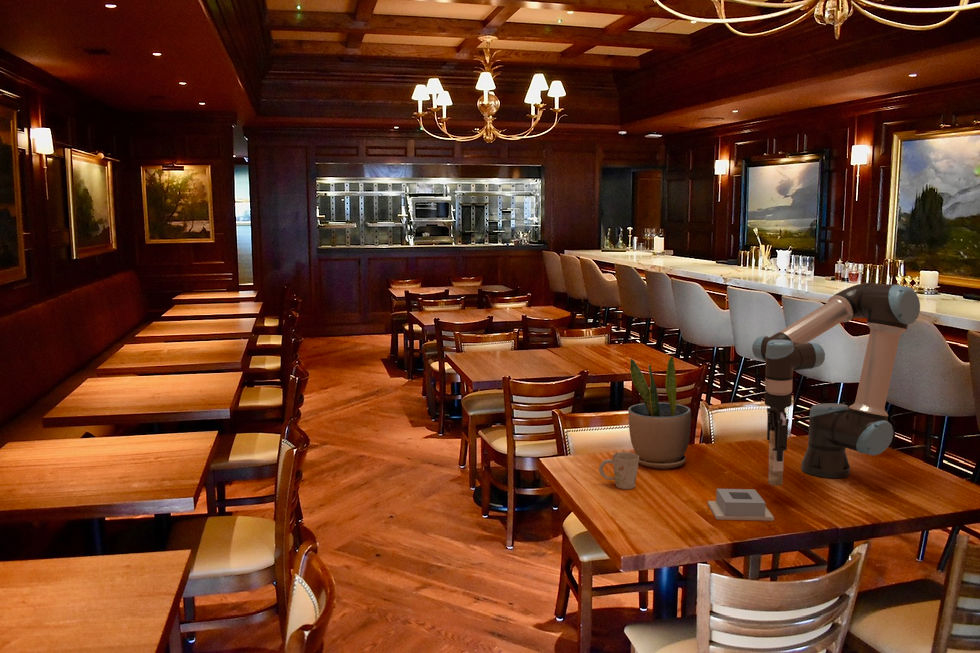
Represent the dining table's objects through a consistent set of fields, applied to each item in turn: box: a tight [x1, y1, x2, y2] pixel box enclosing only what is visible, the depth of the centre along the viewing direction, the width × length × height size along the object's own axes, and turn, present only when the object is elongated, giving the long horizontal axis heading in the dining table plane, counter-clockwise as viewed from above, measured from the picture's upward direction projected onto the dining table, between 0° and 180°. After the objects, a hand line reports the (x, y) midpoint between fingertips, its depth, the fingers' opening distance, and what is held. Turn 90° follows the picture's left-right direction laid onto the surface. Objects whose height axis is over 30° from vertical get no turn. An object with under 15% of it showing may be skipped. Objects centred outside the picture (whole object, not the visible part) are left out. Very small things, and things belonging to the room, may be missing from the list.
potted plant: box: [627, 354, 692, 470], centre depth 274 cm, size 21×22×40 cm
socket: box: [707, 488, 775, 522], centre depth 231 cm, size 16×12×5 cm
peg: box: [767, 430, 784, 486], centre depth 238 cm, size 4×4×16 cm
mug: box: [598, 451, 639, 490], centre depth 253 cm, size 8×13×10 cm, turn 78°
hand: (775, 468), depth 238 cm, fingers closed on peg, 4 cm apart
